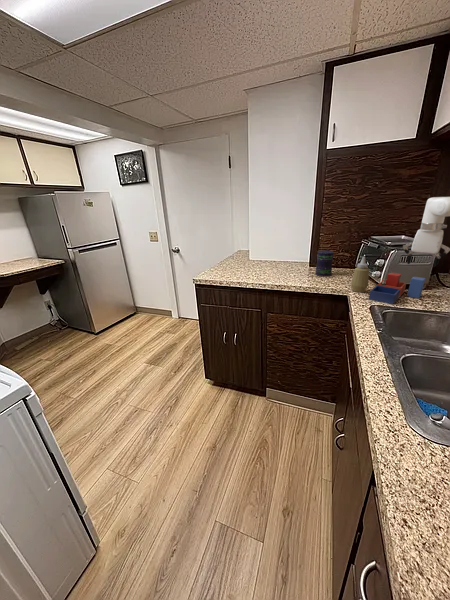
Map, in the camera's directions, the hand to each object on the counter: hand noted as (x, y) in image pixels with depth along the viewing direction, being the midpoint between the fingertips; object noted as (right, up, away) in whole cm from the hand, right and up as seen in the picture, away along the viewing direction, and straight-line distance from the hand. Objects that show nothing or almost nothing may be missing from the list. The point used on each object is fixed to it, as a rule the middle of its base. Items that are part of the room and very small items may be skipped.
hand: (421, 264), depth 116 cm
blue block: (+1, -15, +5) cm, 16 cm away
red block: (-6, -12, +12) cm, 18 cm away
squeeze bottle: (-21, -12, +16) cm, 29 cm away
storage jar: (-27, 0, +47) cm, 54 cm away
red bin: (-6, -12, +12) cm, 18 cm away
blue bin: (-15, -16, +4) cm, 22 cm away
